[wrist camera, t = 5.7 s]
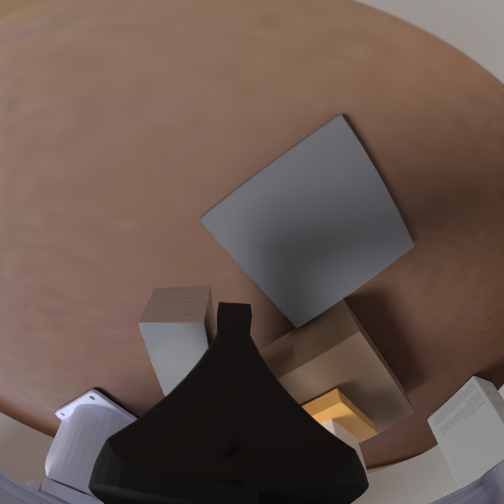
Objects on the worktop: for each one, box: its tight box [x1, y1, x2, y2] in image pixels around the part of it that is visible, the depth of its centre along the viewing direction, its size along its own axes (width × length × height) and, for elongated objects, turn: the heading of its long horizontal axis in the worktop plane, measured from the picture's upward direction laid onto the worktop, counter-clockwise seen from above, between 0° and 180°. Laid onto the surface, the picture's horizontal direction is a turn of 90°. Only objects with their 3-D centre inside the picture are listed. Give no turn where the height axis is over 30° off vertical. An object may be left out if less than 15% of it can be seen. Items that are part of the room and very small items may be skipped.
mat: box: [199, 114, 415, 328], centre depth 14 cm, size 8×8×1 cm
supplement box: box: [427, 376, 504, 490], centre depth 17 cm, size 7×7×13 cm
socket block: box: [258, 299, 415, 434], centre depth 18 cm, size 12×12×3 cm
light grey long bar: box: [138, 286, 217, 397], centre depth 12 cm, size 13×2×3 cm, turn 3°
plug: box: [302, 388, 378, 482], centre depth 15 cm, size 6×6×8 cm
